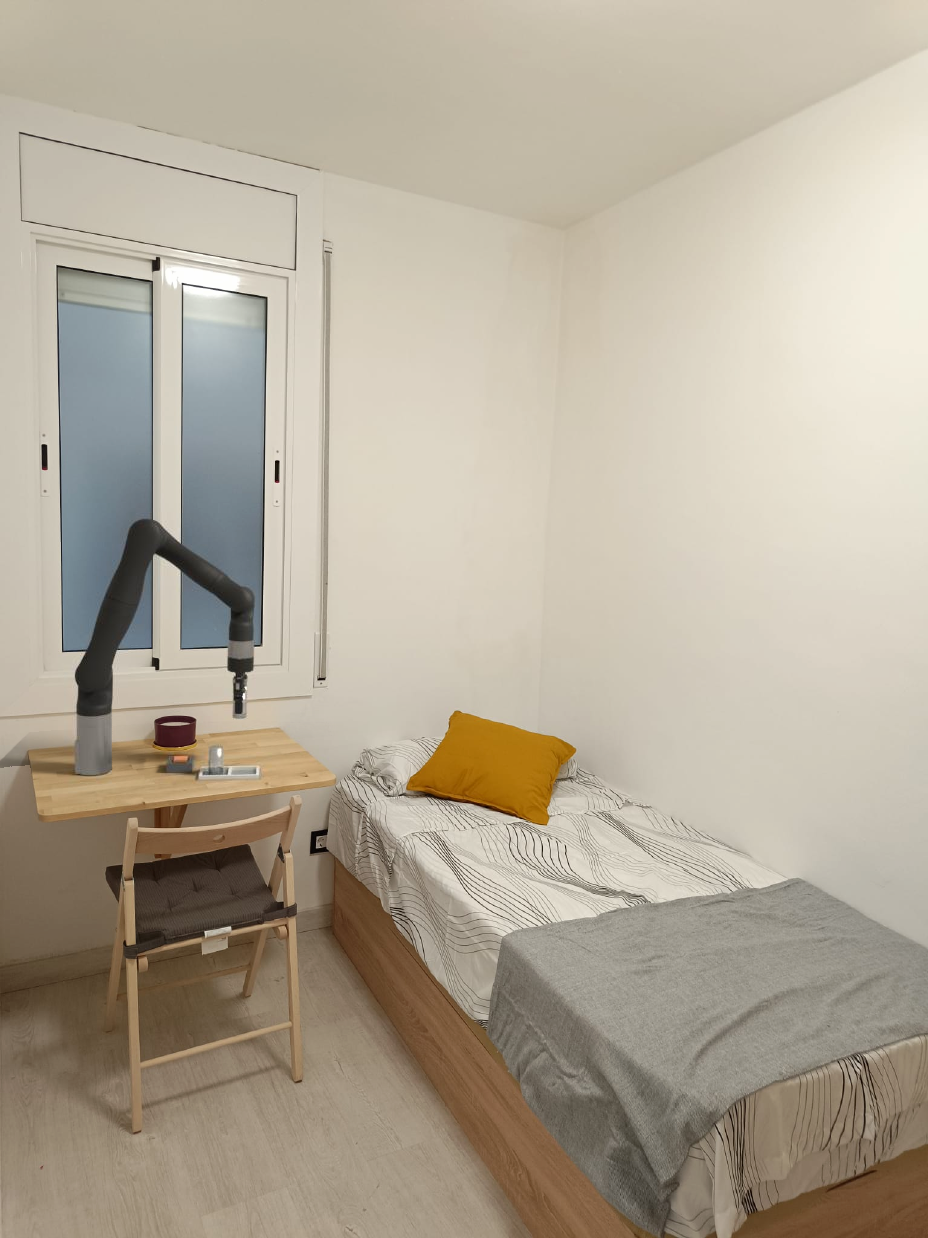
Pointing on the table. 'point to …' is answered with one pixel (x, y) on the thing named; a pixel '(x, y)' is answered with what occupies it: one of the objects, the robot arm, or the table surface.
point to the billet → (243, 715)
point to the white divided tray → (232, 773)
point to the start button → (180, 759)
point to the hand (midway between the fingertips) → (239, 711)
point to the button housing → (180, 765)
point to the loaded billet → (215, 760)
